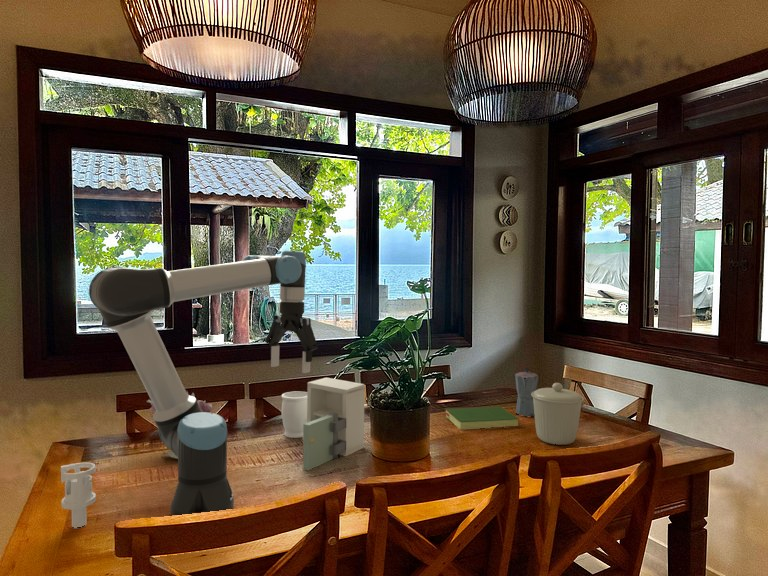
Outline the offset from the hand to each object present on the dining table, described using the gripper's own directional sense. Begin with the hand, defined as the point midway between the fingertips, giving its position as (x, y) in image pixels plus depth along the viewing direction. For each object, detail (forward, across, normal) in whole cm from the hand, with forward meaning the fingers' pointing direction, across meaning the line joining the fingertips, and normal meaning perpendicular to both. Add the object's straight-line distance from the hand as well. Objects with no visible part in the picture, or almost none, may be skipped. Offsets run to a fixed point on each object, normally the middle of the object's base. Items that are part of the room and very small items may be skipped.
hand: (290, 369), depth 160 cm
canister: (+28, -60, -75) cm, 100 cm away
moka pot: (+27, -39, -101) cm, 112 cm away
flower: (+31, +37, +12) cm, 50 cm away
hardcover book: (+29, -28, -80) cm, 89 cm away
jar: (+30, +19, -22) cm, 42 cm away
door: (+30, -7, -8) cm, 32 cm away
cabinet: (+30, -1, -19) cm, 35 cm away
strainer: (+32, +13, +56) cm, 65 cm away
